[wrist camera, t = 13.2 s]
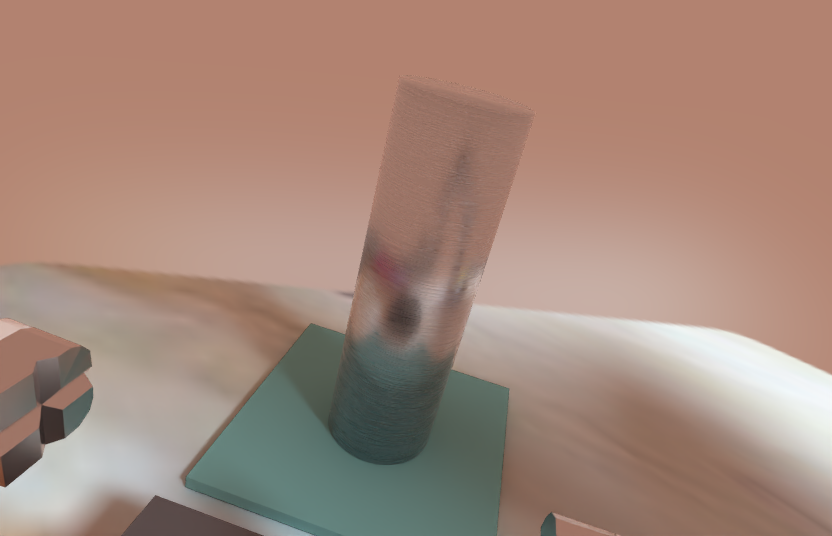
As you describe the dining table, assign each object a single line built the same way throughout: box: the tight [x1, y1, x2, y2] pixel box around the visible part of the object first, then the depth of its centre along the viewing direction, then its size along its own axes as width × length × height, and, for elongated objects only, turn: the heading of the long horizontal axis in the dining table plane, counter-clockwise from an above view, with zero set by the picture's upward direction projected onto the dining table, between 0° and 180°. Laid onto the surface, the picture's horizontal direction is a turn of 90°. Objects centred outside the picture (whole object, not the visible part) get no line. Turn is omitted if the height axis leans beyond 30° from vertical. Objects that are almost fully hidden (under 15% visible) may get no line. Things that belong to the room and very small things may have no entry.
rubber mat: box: [185, 323, 509, 536], centre depth 23 cm, size 11×11×1 cm
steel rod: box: [328, 75, 535, 465], centre depth 19 cm, size 4×4×14 cm
